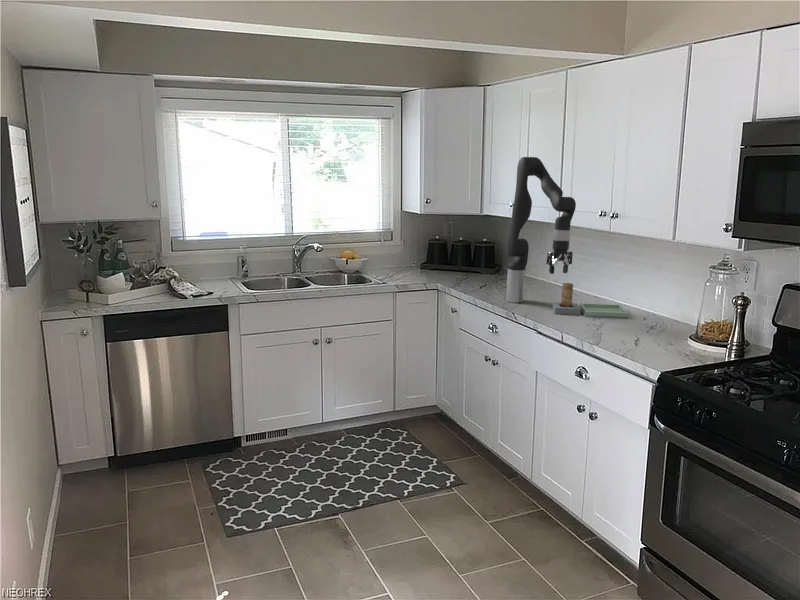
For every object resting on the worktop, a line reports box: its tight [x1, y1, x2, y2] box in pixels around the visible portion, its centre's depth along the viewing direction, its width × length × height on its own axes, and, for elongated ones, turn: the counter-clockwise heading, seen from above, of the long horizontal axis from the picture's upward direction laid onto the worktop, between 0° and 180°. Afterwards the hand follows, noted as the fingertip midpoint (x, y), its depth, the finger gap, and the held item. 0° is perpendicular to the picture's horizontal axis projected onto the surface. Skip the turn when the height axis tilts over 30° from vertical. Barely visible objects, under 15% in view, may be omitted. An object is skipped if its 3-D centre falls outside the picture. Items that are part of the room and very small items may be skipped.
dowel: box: [560, 282, 574, 307], centre depth 324 cm, size 5×5×14 cm
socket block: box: [551, 302, 581, 316], centre depth 325 cm, size 12×12×3 cm
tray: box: [579, 302, 629, 319], centre depth 323 cm, size 18×20×2 cm
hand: (558, 273), depth 313 cm, fingers open, 8 cm apart
